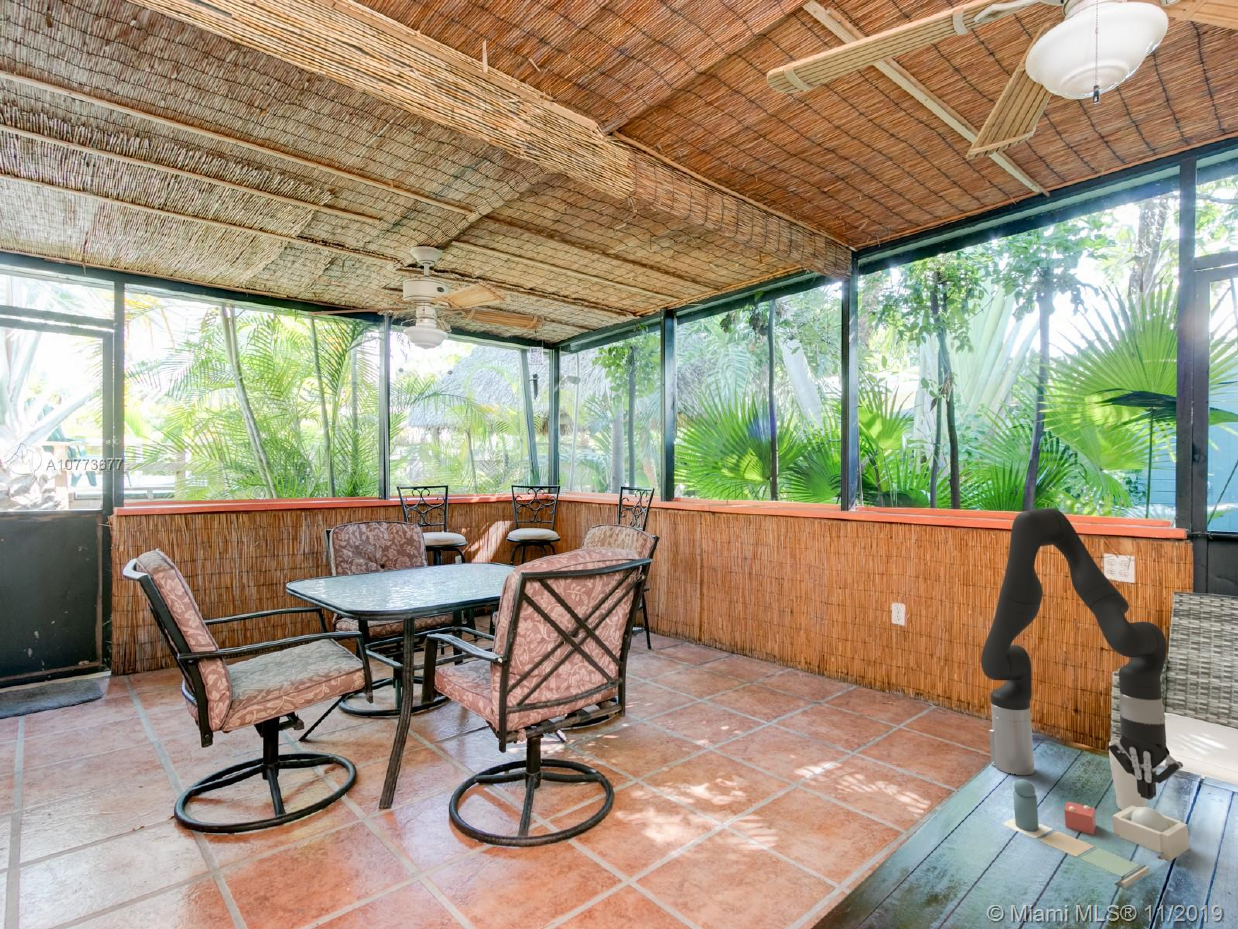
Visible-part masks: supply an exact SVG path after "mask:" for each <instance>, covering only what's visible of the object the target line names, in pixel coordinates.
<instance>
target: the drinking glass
mask: <svg viewBox="0 0 1238 929" xmlns="http://www.w3.org/2000/svg"><path fill="white" fill-rule="evenodd" d="M1115 743H1120V739H1119V740H1118V739H1117V740H1116V739H1115V740H1110V741H1108V747H1109V746H1111V745H1113V744H1115ZM1125 753H1126V751H1125ZM1108 754H1109V763H1110V764H1109V765H1110V769H1111V775H1112V781H1113V787H1114V791H1115V792H1114V793H1115V797H1116V799H1115V800H1116V806H1117V807H1118V809H1119V810H1120V811H1122V810H1124V809H1126V808H1128V807H1130V806H1132V805H1133V806H1136V807H1147V806H1146V799H1145V798H1142V797H1141V795H1140V794H1139V793H1138V791H1137V779H1136V777H1135V776H1134V775H1132V774H1129V773H1127V772H1126V771H1125V770H1124V768H1123V767H1122V766H1121V764H1120V763H1119V762H1118V760H1117V759H1116V758H1115V756H1114V755H1113V754H1112V752H1111V751H1110V750H1109V749H1108ZM1126 754H1127V753H1126ZM1127 756H1128V757H1129V755H1128V754H1127ZM1129 758H1130V757H1129ZM1130 759H1131V758H1130ZM1131 761H1132V759H1131Z"/></svg>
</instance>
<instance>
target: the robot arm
mask: <svg viewBox="0 0 1238 929" xmlns="http://www.w3.org/2000/svg"><path fill="white" fill-rule="evenodd" d="M1048 546H1054V547H1055V548H1056V549H1057V550H1058V551H1059V552H1060V553H1061V554H1062V555H1063V557H1064V558H1065V559H1066V562H1067V564H1068V567H1069V574H1070V579H1071V583H1072V584H1071V585H1072V586H1073V589H1074V591H1075V593H1076V594H1077V595H1078V598H1080V600H1081V601H1082V602H1083V603H1084V604H1085V605H1086V607H1087V608H1088V609H1089V610H1090V612H1091V613H1092V614H1093V615H1094V616H1095V620H1096V622H1097V624H1098V626H1099V628H1100V630H1101V633H1102V635H1103V637H1104V639H1105V641H1106V642H1107V644H1108V645H1109V646H1110V647H1111V649H1112V650H1113V651H1115V652H1116V653H1117V654H1119V655H1121V656H1123V657H1124V658H1125V657H1126V658H1130V659H1129V661H1128V663H1127V664H1124V665H1122V666H1121V667H1120V668H1119V671H1118V684H1119V685H1118V686H1119V698H1118V700H1119V701H1118V707H1119V708H1118V709H1119V720H1120V733H1121V737H1120V738H1119V740H1120V743H1115V744H1113V745H1111V746H1109V745H1108V751H1109V750H1110V751H1111V752H1112V754H1113V755H1114V756H1115V758H1116V759H1117V760H1118V762H1119V763H1120V764H1121V766H1122V767H1123V768H1124V770H1125V771H1126V772H1127V773H1129V774H1132V775H1134V776H1135V777H1136V779H1137V791H1138V793H1139V794H1140V795H1141V797H1142V798H1145V800H1148V801H1150V800H1153V799H1154V798H1155V797H1156V796H1157V786H1156V784H1161V783H1163V782H1164V781H1167V780H1168V779H1169V778H1171V777H1172V776H1173V775H1174V774H1176V773H1177V772H1179V770H1180V769H1181V770H1182V768H1183V767H1184V765H1183V763H1182V762H1181V761H1177V760H1176V759H1175V758H1174V757H1172V756H1171V755H1170V754H1171V753H1170V750H1169V748H1168V746H1167V733H1166V714H1165V706H1164V704H1163V698H1162V697H1163V696H1162V695H1163V694H1162V684H1161V683H1162V682H1161V676H1162V673H1163V670H1164V665H1165V661H1166V656H1167V652H1168V644H1167V642H1168V641H1167V639H1166V635H1165V634H1164V632H1163V631H1162V629H1161V628H1160V627H1159V626H1158V625H1156V624H1155V623H1153V622H1149V621H1137V622H1134V621H1133V622H1129V620H1128V619H1127V618H1126V616H1125V614H1126V613H1127V612H1128V611H1129V609H1130V605H1129V602H1128V601H1127V600H1126V598H1125V597H1124V596H1123V594H1121V592H1120V591H1119V590H1118V589H1117V588H1116V587H1115V586H1114V584H1113V583H1112V582H1111V581H1110V580H1109V579H1108V577H1107V576H1106V575H1105V574H1104V572H1103V571H1102V570H1101V569H1100V568H1099V566H1098V565H1097V563H1096V562H1095V560H1094V559H1093V557H1092V556H1091V553H1090V551H1089V550H1088V549H1087V547H1086V546H1085V544H1084V542H1083V541H1082V539H1081V537H1080V536H1079V535H1078V533H1077V531H1076V529H1075V527H1074V526H1073V524H1071V522H1070V520H1069V519H1068V518H1067V516H1066V515H1065V514H1064V513H1063V512H1062V511H1060V510H1058V509H1056V508H1052V507H1050V508H1049V507H1045V508H1038V509H1031V510H1030V509H1029V510H1025V511H1020V512H1019V513H1018V514H1017V515H1016V516H1015V517H1014V520H1013V522H1012V526H1011V533H1010V542H1009V550H1008V558H1007V564H1006V568H1005V573H1004V576H1003V580H1002V584H1001V588H1000V592H999V595H998V599H997V605H996V608H995V609H996V610H995V614H994V618H993V620H992V624H991V627H990V630H989V633H988V635H987V637H986V641H985V642H984V645H983V648H982V652H981V656H980V663H981V669H982V672H983V674H984V675H985V676H986V677H987V679H990V680H993V681H1005V682H1004V683H1003V684H1002V685H1001V686H999V687H998V688H996V689H994V690H992V691H991V692H990V708H991V710H990V711H991V722H992V724H991V725H992V728H991V729H990V730H988V732H989V747H990V762H991V763H992V762H993V761H994V763H993V764H995V765H993V764H992V766H994V767H995V768H996V769H998V770H1000V771H1001V772H1003V773H1007V774H1010V773H1011V775H1014V774H1016V775H1015V776H1030V775H1033V774H1034V773H1035V759H1034V747H1033V746H1034V745H1033V730H1032V718H1031V717H1032V716H1031V715H1032V714H1031V699H1032V695H1033V694H1032V693H1033V689H1032V688H1033V687H1032V674H1033V673H1032V662H1031V658H1030V655H1029V653H1028V651H1026V649H1025V648H1024V647H1023V646H1021V645H1018V644H1013V641H1014V640H1015V639H1016V638H1017V637H1018V636H1019V635H1020V634H1021V633H1022V632H1023V631H1024V630H1025V629H1027V627H1029V625H1031V624H1032V622H1033V621H1034V620H1035V619H1036V617H1037V616H1038V613H1039V611H1040V607H1041V603H1042V600H1043V595H1044V592H1043V591H1044V590H1043V586H1042V583H1041V581H1040V578H1039V577H1038V575H1037V572H1036V569H1035V568H1036V567H1035V564H1036V558H1037V555H1038V552H1039V549H1040V548H1041V547H1048ZM1125 751H1126V753H1127V754H1128V755H1129V757H1130V758H1131V759H1132V761H1131V759H1130V758H1129V757H1128V756H1127V754H1126V753H1125ZM1164 761H1165V763H1164V766H1165V767H1166V768H1164V770H1163V771H1162V772H1160V773H1159V774H1158V769H1159V766H1160V765H1161V764H1162V763H1163V762H1164Z"/></svg>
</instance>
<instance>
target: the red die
mask: <svg viewBox="0 0 1238 929" xmlns="http://www.w3.org/2000/svg"><path fill="white" fill-rule="evenodd" d="M1096 821H1097V820H1096V808H1095V807H1092V806H1089V805H1083V804H1080V803H1075V802H1072V801H1067V802H1066V805H1065V808H1064V824H1065V828H1066V829H1070V830H1075V831H1078V832H1082V833H1085V834H1090V835H1093V836H1094V834H1095V831H1096V827H1097V822H1096Z"/></svg>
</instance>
